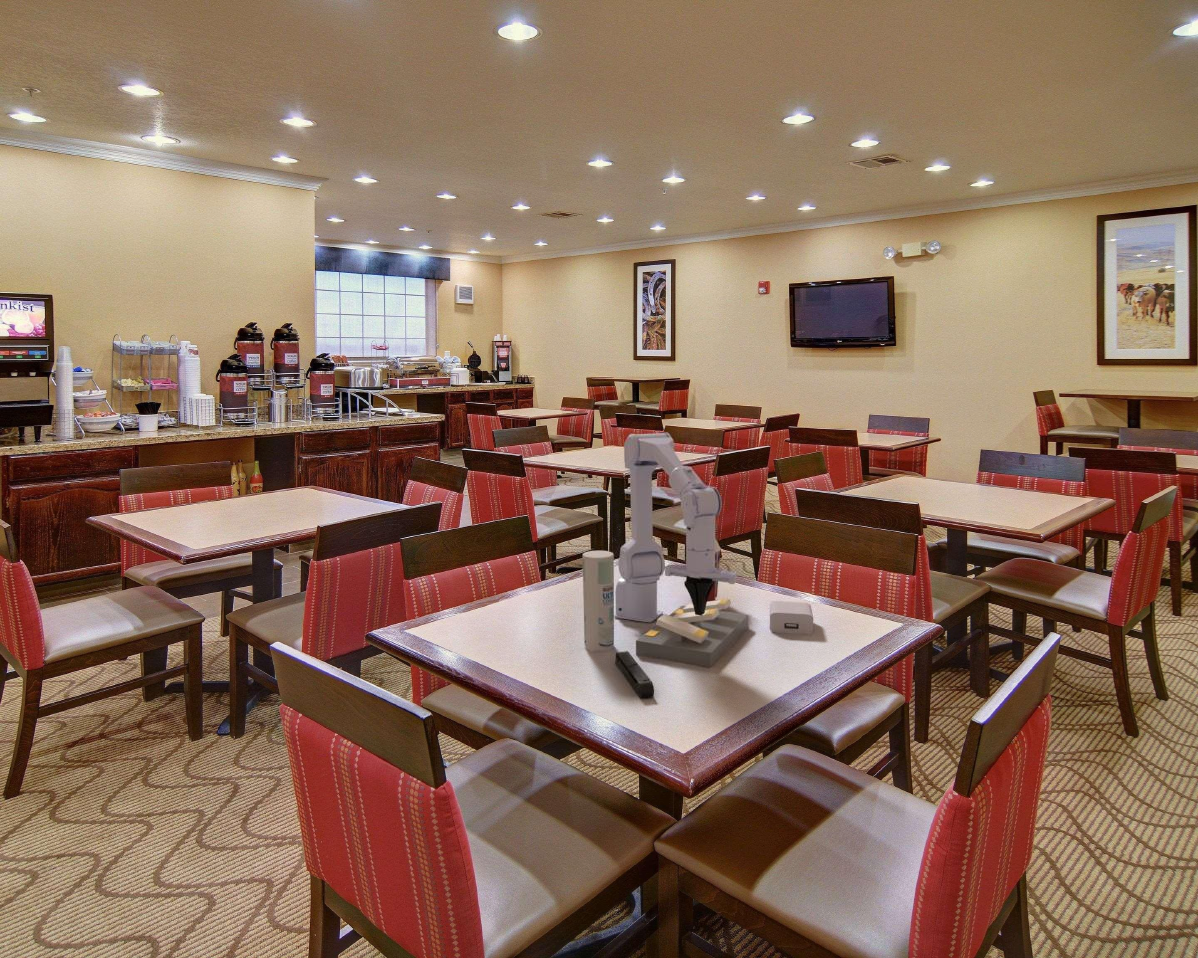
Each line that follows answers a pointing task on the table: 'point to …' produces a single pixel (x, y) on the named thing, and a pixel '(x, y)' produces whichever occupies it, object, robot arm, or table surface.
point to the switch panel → (687, 650)
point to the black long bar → (634, 675)
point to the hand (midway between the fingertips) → (699, 613)
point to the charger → (791, 617)
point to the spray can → (598, 600)
